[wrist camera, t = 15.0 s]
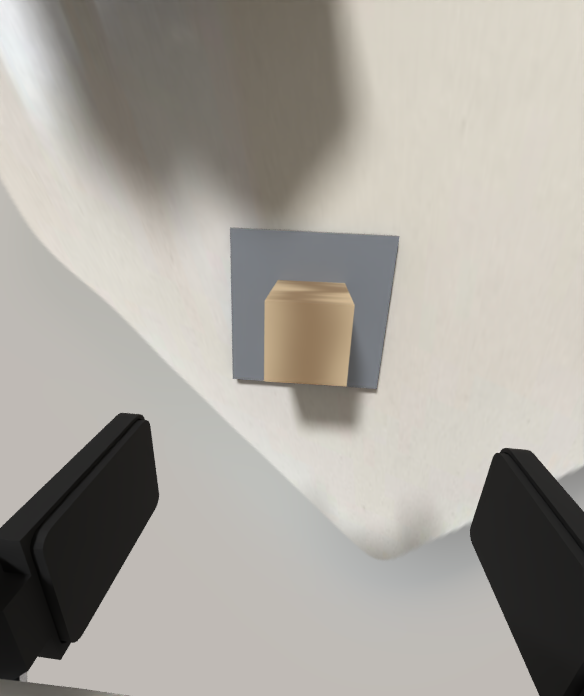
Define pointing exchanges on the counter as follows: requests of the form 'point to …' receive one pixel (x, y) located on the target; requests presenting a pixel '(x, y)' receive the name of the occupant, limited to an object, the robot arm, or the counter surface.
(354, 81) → the counter surface
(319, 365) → the oak block
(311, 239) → the slate tile
